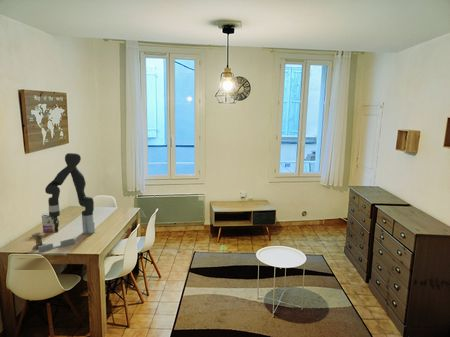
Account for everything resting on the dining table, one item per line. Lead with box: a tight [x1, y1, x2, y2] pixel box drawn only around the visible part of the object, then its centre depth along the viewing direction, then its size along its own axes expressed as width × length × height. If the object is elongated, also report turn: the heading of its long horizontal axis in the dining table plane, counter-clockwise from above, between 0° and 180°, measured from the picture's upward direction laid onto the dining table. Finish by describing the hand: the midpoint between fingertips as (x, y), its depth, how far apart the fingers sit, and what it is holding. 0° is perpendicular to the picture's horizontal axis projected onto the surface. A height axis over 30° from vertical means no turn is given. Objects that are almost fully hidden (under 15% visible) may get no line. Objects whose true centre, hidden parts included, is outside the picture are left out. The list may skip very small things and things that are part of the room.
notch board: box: [37, 237, 75, 253], centre depth 260 cm, size 26×2×4 cm, turn 130°
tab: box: [52, 223, 59, 234], centre depth 257 cm, size 4×4×8 cm
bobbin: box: [31, 231, 46, 251], centre depth 259 cm, size 9×9×11 cm
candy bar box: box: [41, 213, 53, 233], centre depth 292 cm, size 11×5×16 cm, turn 99°
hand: (55, 230), depth 258 cm, fingers closed on tab, 4 cm apart
